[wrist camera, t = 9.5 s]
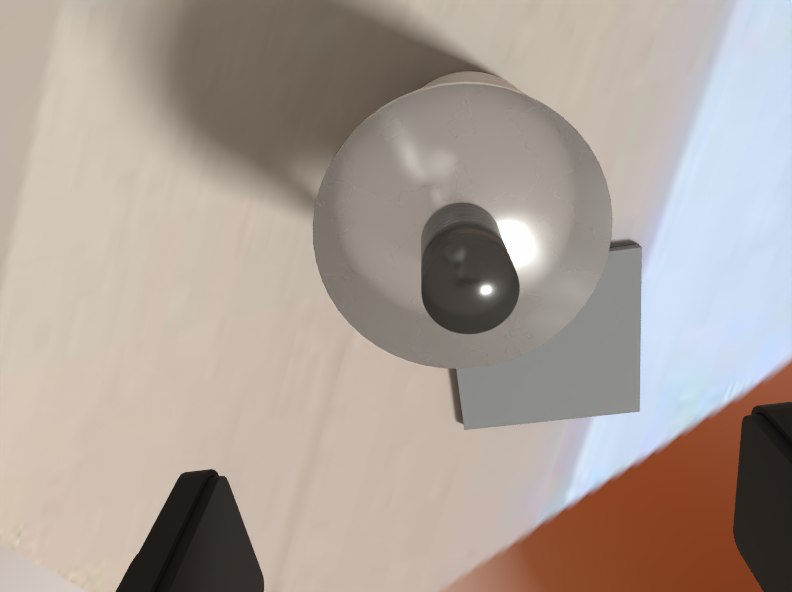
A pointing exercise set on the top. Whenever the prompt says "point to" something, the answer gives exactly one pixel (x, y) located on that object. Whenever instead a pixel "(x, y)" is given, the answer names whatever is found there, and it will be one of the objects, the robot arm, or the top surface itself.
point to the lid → (462, 225)
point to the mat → (569, 361)
